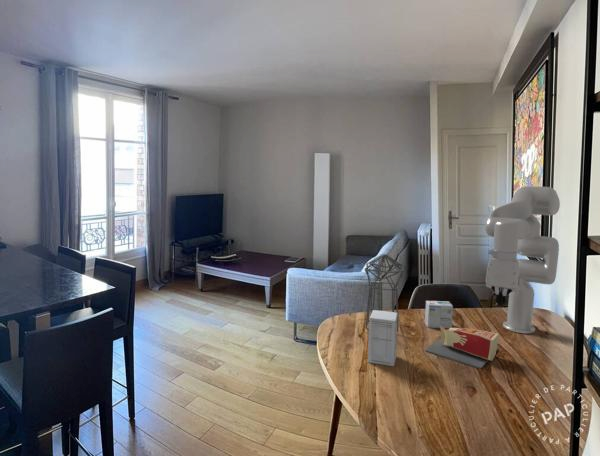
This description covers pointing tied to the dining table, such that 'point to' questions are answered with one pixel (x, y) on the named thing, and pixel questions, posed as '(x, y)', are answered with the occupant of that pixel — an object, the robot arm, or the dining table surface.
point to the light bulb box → (438, 314)
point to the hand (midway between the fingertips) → (500, 305)
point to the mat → (456, 355)
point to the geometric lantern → (384, 283)
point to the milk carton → (471, 341)
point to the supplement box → (382, 337)
